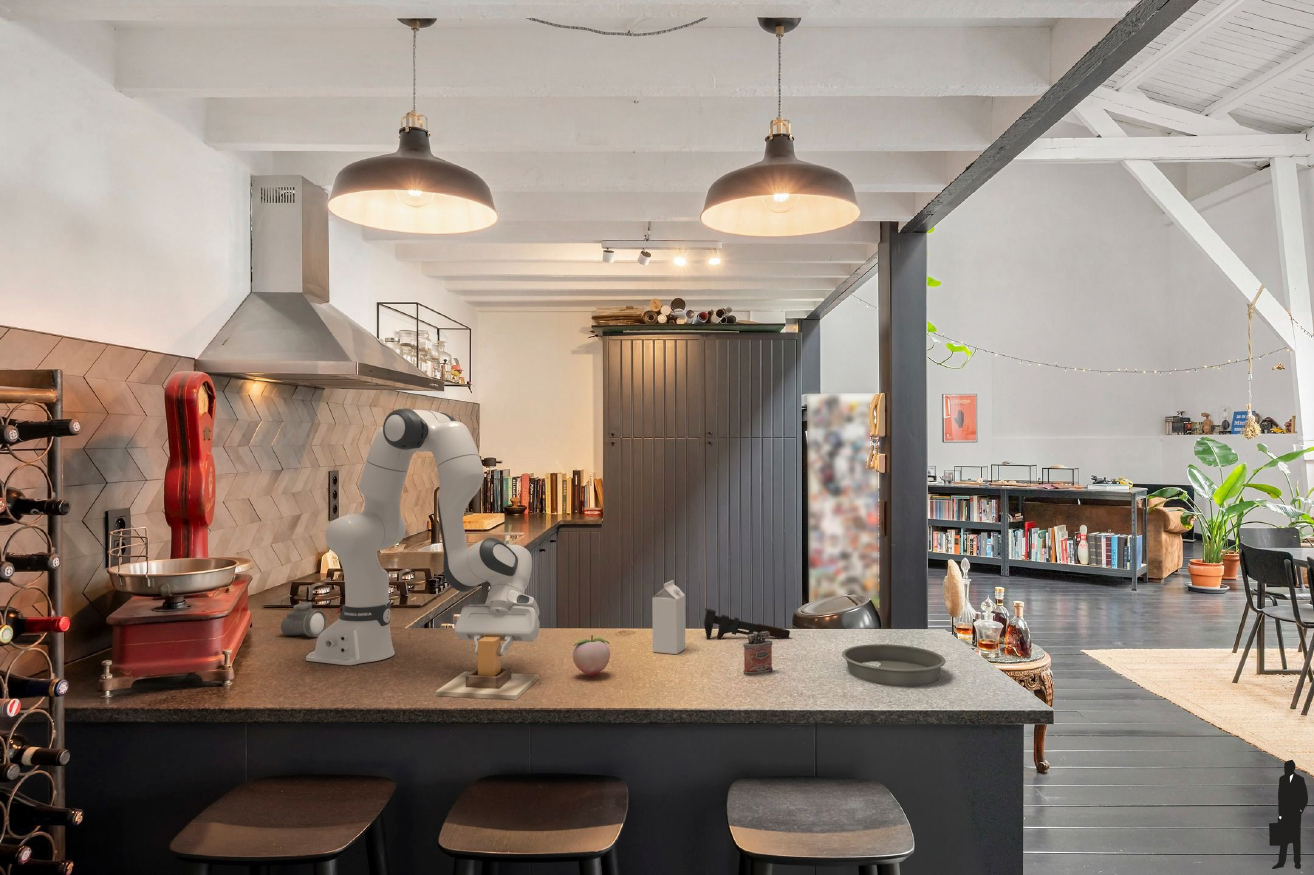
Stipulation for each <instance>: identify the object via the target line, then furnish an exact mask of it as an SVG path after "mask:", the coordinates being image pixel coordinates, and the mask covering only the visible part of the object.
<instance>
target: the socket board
mask: <svg viewBox="0 0 1314 875" xmlns="http://www.w3.org/2000/svg"><path fill="white" fill-rule="evenodd" d="M539 676H540V675H539V674H529V673H528V674H527V673H512V667H502V666H501V671H500V672H499V673H498V674H497V675H495V676H478V667H476V668H475V669H473V670H472V671H463V672H462V673H461V674H459V675H457V676H456V677H454V678H453V679H451V680H450V681H448V682H447V683H446V684H444V685H443V686H441V687H440V688H438V689H437V690H436V691H435V697H451V698H453V697H454V698H455V697H456V698H471V699H472V698H475V699H491V700H492V699H493V700H494V699H495V700H511V701H512V700H514V701H515V700H516V701H517V699H518V698H520V697H521V696H522V695H523V694H524V693H525V692H526V691H527V690H528V689H529V688H530V687H532V686H533V684H535V683H536V682H537V681H538V680H539V679H540V677H539Z"/></svg>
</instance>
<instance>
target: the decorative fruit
mask: <svg viewBox="0 0 1314 875" xmlns="http://www.w3.org/2000/svg"><path fill="white" fill-rule="evenodd" d="M593 636H594V635H593V634H591V637H590V638H591V639H586V638H585V639H584V638H583V639H580V640H578V641H576V642H575V643H574V644H573V645H572V646H573V647H574V649H573V651H572V661H573V663H574V665H575V666H576V668H577V669H578V670H579V671H581V672H582V673H583V674H586V675H588V676H590V677H593V676H594V675H597V674H598V673H600V672H602V671H603V670H604V669H605V668H606V667H607V665H608V664H609V661H610V656H611V650H610V648H609V646H608V645H607V644H609V645H610V644H611V643H610V642H609V641H608V640H607V639H605V638H601V637H599V638H598V637H596V638H594V637H593ZM593 638H594V639H593Z"/></svg>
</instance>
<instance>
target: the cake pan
mask: <svg viewBox="0 0 1314 875" xmlns="http://www.w3.org/2000/svg"><path fill="white" fill-rule="evenodd" d="M841 656H842V658H843V659H844V660H845V661H846V665H847V668H848V672H849V673H850V674H851V675H853V676H854V677H855V678H858V679H860V680H863V681H867V682H871V683H876V684H879V685H886V686H887V685H888V686H899V687H901V686H902V687H903V686H905V687H910V686H911V687H914V686H923V685H929V684H932V683H934V682H937V681H938V680H939V678H940V674H941V669H942V668H941V667H943V666H945V665H946V659H945V657H944V655H941V654H940V653H937V652H935V651H933V650H930V649H926V648H921V647H918V646H917V647H916V646H912V645H911V646H910V645H902V644H892V643H891V644H889V643H883V644H882V643H874V644H861V645H855V646H851V647H849V648H847V649H844V650H843V651H842V653H841ZM872 662H873V663H875V662H876V663H879V664H880V665H878V666H876V665H870V664H867V663H872ZM865 663H866V664H865Z"/></svg>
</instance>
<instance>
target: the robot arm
mask: <svg viewBox="0 0 1314 875" xmlns="http://www.w3.org/2000/svg"><path fill="white" fill-rule="evenodd" d="M416 452H419V453H420V452H431V454H432V456H433V458H434V461H435V466H436V470H437V473H438V474H437V475H438V481H439V492H438V493H439V494H438V498H437V505H436V506H437V516H438V522H439V523H438V525H439V529H440V530H439V531H440V536H441V543H442V544H441V545H442V549H443V551H442V552H443V566H442V567H443V568H442V569H443V576H444V578H445V580H446V582H447V583H448V585H449V586H450V587H452V588H453V589H454V590H456V591H458V592H463V593H466V592H469V591H471V590H473V589H475V588H477V587H478V586H480V585H481V584H483V583H485V582H488V583H489V584H490V587H489V592H488V594H487V598H486V600H485V603H469V604H467V605H465V606H464V607H462V608H461V611H460V613H459V614H460V615H459V617H458V619H457V621H456V622H455V625H454V628H453V630H454V633H455V635H456V637H457V638H458V639H459V640H465V641H467V640H468V641H469V640H470V641H474V645H475V649H474V655H475V656H478V640H480V639H482V638H483V637H500V642H503V644H501V646H498V650H497V655H498V656H501V657H505V655H506V651H508V649H509V648H510V647H511V646H512V645H513V643H514V642H529V643H533V642H535V640H537V639H538V636H539V631H540V620H539V617H540V608H539V605H538V603H537V601H536V599H535V598H534V597H533V596H530V595H527V594H525V591H526V588H528V586H529V583H530V578H531V576H532V575H531V574H532V569H533V558H532V555H531V552H530V551H529V550H528V549H527V548H526V547H523V545H519V544H507V543H505V542H503V541H502V540H500V539H498V538H496V537H488V538H485V539H482V540H480V541H478V542H476V543H473V544H472V545H471V546H469V547H468V543H467V536H466V531H465V530H466V529H465V526H464V516H465V515H464V514H465V512H466V509H467V507H468V506H469V504H470V502H471V501H472V499H473V498H474V497H475V496H476V495H477V493H478V492H479V490H480V489H481V487H482V486H483V483H484V480H485V479H484V478H485V475H484V471H485V470H484V467H483V463H482V460H481V457H480V453H479V450H478V447H477V445H476V443H475V441H474V437H473V436H472V434H471V432H470V430H469V428H468V426H466V424H464V423H463V422H461V421H458V420H456V419H455V418H454V417H453V416H451V415H449V414H447V413H445V412H439V411H434V410H429V409H416V408H415V409H410V408H405V407H404V408H399V409H395V410H392V411H391V412H389V413H388V415H386V417H385V419H384V422H383V424H382V426H381V427H380V428H379V429H378V432H377V433H376V435H375V437H374V439H373V440H372V443H371V446H370V447H369V450H368V453H367V457H366V460H365V463H364V466H363V470H362V473H361V477H360V480H359V484H358V490H359V491H360V493H361V494H362V495H363V497H364V507H363V510H362V512H356V513H354V512H353V513H347V514H346V515H343V516H339V517H337V518H335V519H334V520H332V521H331V522H330V523H329V524H328V526H327V528H326V530H325V542H326V545H327V547H328V549H329V550H330V551H331V552H332V553H334V555H336V557H337V558H338V560H339V563H340V565H341V568H342V571H343V576H344V591H345V592H344V594H345V596H344V598H345V599H344V600H345V604H343V605H342V606H340V607H338V608H336V609H335V611H336V612H335V614H339V616H338V619H337V620H336V621H334V622H333V623H332V624H330V625H329V626H328V627H326V630H324V631H323V632H322V633H321V634H320V635H319V636H318V637H317V639H316V642H315V650H313V651H311V652H309V653H308V654H307V655H306V657H305V661H308V662H316V663H322V664H323V663H324V664H333V665H341V666H353V665H358V664H364V663H372V662H377V661H381V660H386V659H388V658H391V657H393V656H395V654H396V652H395V649H394V645H393V641H392V636H391V634H392V633H391V628H390V624H391V602H390V600H389V598H390V597H389V596H390V595H389V593H390V591H389V590H390V587H389V586H390V584H389V583H390V577H389V573H388V571H387V570H386V569H384V568H383V566H381V565H382V564H381V563H380V560H379V557H378V551H383V550H384V551H385V550H388V549H390V548H392V547H395V545H398V544H399V543H401V542H402V541H403V539H404V538H405V536H406V531H407V525H406V521H405V519H404V518H403V516H402V515H401V514H402V512H401V499H402V492H403V488H404V485H405V482H406V478H407V475H408V471H409V468H410V464H411V462H412V457H413V455H414V454H415V453H416Z"/></svg>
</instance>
